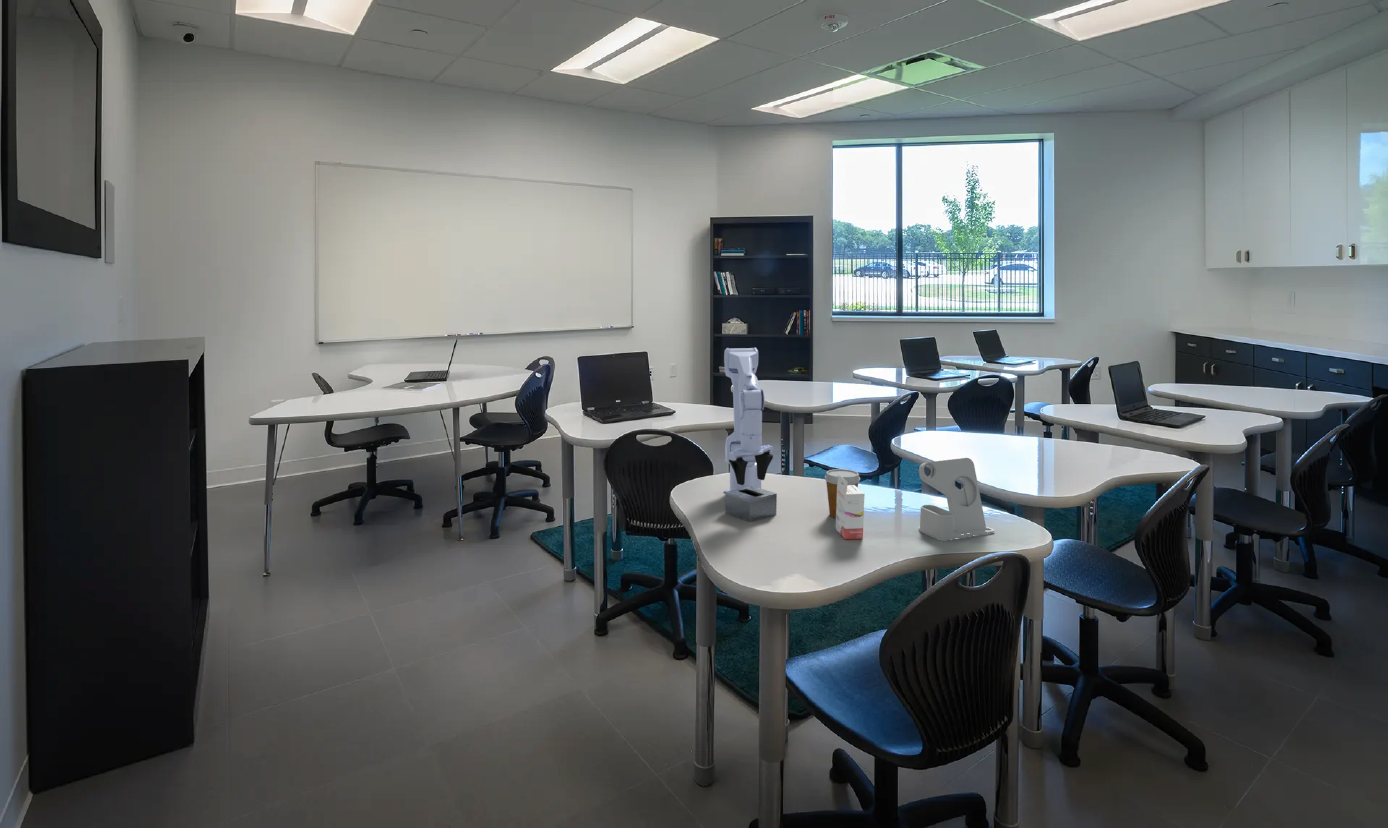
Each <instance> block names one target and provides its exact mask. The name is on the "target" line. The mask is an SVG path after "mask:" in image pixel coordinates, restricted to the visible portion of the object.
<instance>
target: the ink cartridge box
mask: <svg viewBox="0 0 1388 828" xmlns="http://www.w3.org/2000/svg"><path fill="white" fill-rule="evenodd" d="M841 482H843V483H844V485H842V484H841ZM864 516H865V493H864V492H863V491H862V490H861V489H859V487H858V488H857V487H856V486H855V485H848V482H847V481H846V480H845V479H844V478H843V477H841V476H840V475H839V476H838V484H837V503H836V518H835V530H836V531H837V532H838V533H839V535H840V536H841V537H842V538H843V539H844V540H863V538H864Z"/></svg>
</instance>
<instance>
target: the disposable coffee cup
mask: <svg viewBox="0 0 1388 828" xmlns="http://www.w3.org/2000/svg"><path fill="white" fill-rule="evenodd" d="M839 475H840V476H841V477H843V478H844V479H845V480H846V481H847V482H848V485H855V486H856V487H857V488H858V489H859V483H860V481H861V477H860V474H859V472H858V471H856V470H852V469H845V468H835V469H828V470H827V471H826V472H825V475H824V480H825V482H826V490H827V491H826V493H827V500H828V511H829V516H830V517H831V518H835V519H836V503H837V484H838V476H839ZM841 484H842V485H844V483H843V482H841Z"/></svg>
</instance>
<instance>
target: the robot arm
mask: <svg viewBox="0 0 1388 828" xmlns="http://www.w3.org/2000/svg"><path fill="white" fill-rule="evenodd" d="M723 353H724V355H723V357H724V358H723V364H724V373H725V377H728V378H729V379H731V384H732V397H733V398H732V400H733V402H732V403H733V428H734V429H733V432H732V433H731V434H730V435H728V436H727V437H726V439H725V446H724V455H725V456H724V457H725V462H726V463H727V464H729V488H727V489H723V492H728V491H732V490H736V489H740V488H745V487H749V486H754V487H757V488H761V489H762V481H765V479H766V475H767V471H768V468H769V466H770V464H771V462H772V460H773V459H774V455H773V450H774V447H773V445H770V444H766V445H762V444H763V442H762V441H763V435H762V433H763V428H762V427H763V411H764V409H765V404H766V403H765V393H764V390H763V389H764V388H762V387H760V385H759V384H760V383H759V380H758V377H757V375H756V373H757V369H758V366H759V350H758V349H757V347H750V348H745V347H743V348H742V347H741V348H740V347H739V348H729V347H726V349H724V352H723Z"/></svg>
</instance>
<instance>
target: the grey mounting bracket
mask: <svg viewBox="0 0 1388 828" xmlns="http://www.w3.org/2000/svg"><path fill="white" fill-rule="evenodd" d="M925 467H928V468H929V469H930V475H928V476H927V474H926V473H925ZM975 468H976V467H975V463H974V461H973V460H972V459H971V458H969V457H961V458H954V459H945V460H938V461H937V460H936V461H927V462H923V463H921V464H920V465H919V468H918V474H919V478H920V480H921V481H923V482H924V483H925V484H926V485H928V486H930V487H932V488H933V489H935V490H936V491H938V492H940V493H941V494H943V495H944V496H945V497H946V502H947V507H948V510H946V509H944V508H942V507H939V506H937V505H934V504H932V505H931V504H924V505H921V506H920V514H919V515H920V516H919V517H920V518H919V526H918V529H917V530H918V532H921V533H923V534H925V535H927V536H929V537H932V538H933V537H934V538H933V539H935V538H937V539H938V540H937V539H936V540H937V541H940V540H941V541H940V542H948V541H947V540H950V541H952V540H951V539H955V538H962V539H965V538H964V537H969V536H973V535H981V536H984V535H983V534H987V533H993V532H995V530H994V528H992V527H989V526H986V525H987V524H986V520H985V515H984V509H983V505H982V504H983V503H982V499H981V494H980V488H979V483H978V477H977V473H976V469H975ZM958 479H960V480H961V481H962V482H963V487H962V488H961V489H960V488H958V487H957V486H956V481H957V480H958ZM985 530H989V531H985ZM967 533H970V534H967ZM961 534H964V535H961ZM993 534H994V533H993ZM987 535H988V534H987ZM969 538H970V537H969Z"/></svg>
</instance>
